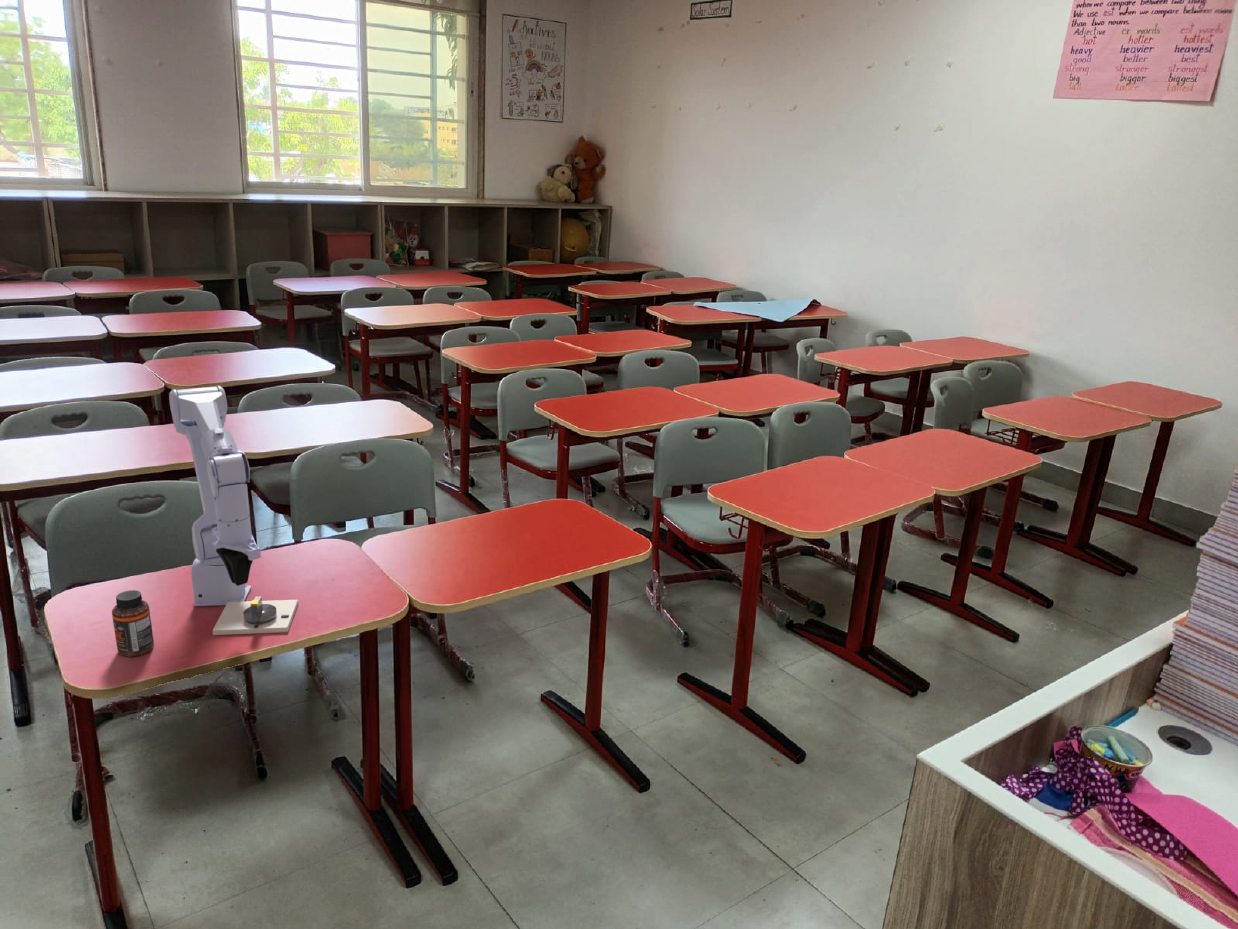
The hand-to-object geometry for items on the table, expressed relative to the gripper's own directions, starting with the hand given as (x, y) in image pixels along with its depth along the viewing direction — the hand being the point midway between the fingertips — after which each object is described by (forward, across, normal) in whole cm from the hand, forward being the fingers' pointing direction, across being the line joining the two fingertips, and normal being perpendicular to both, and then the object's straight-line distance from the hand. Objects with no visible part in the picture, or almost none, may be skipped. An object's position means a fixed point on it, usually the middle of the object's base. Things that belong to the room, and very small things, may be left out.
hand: (239, 582), depth 165 cm
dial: (+9, 0, +3) cm, 9 cm away
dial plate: (+10, -2, +4) cm, 11 cm away
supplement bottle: (+10, -6, -17) cm, 21 cm away
